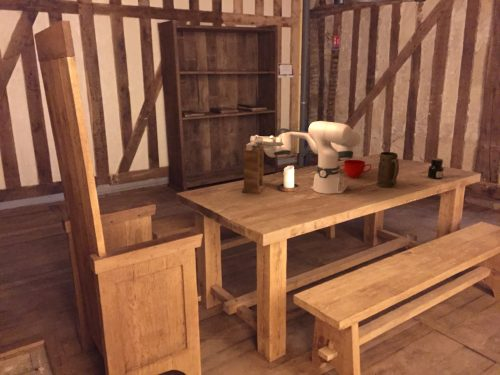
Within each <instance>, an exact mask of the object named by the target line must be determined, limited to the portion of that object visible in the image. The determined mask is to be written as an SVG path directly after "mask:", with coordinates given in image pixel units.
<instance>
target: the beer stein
mask: <svg viewBox="0 0 500 375" xmlns="http://www.w3.org/2000/svg"><path fill="white" fill-rule="evenodd" d="M377 167H378V168H377V173H376V174H377V176H376V177H377V180H376V181H377V182H376V186H378V187H380V188H386V189H392V188H395V187H396V184H397V178H398V175H399V172H400V171H399V170H400V164H399V159H398V153H396V152H392V151H381V152H380V154H379V161H378V166H377Z"/></svg>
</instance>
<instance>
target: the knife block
mask: <svg viewBox="0 0 500 375" xmlns="http://www.w3.org/2000/svg"><path fill="white" fill-rule="evenodd" d="M247 144H248V143H247ZM247 144H245V147H244V148H243V189H242V190H241V193H243V194H253V195H255V194H256V195H260V194H261V193H262V191H263V190H265V187H266V186H265V185H264V164H265V163H264V162H265V160H264V155H265V151H264V145H262V142H259V146H258V145H255V146H254V149H253V150H252V151H251V150H246V145H247Z"/></svg>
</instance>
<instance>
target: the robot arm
mask: <svg viewBox="0 0 500 375" xmlns="http://www.w3.org/2000/svg"><path fill="white" fill-rule="evenodd" d="M307 130H308V131H306V130H305V131H304V130H298V129H297V130H296V129H289V128H285V127H284V128H282V127H281V128H279V129H278V130H277V131H276V132H275V136H274V135H270V136H260V135H259V134H255V135H251V136H250V137H249V143H250V142H251V141H253V140H255V139H256V138H258V137H263V143H262V145H264V154H266V155H267V156H268V157H270V158H286V157H288V156H290V155H291V154H292V139H293V138H295V139H303V140H305V141H307V144H308V146H309V148H310V150H311V151H312V152H313V153H314V154H316V155H317V166H316V173H315V174H314V179H313V185H311V187H310V188H311V189H313V190H314V192H316V193H319V194H328V195H329V194H342V193H344V191H345V190H346V189H347V188H348V186H347V184H344V177H343V175H341V174H340V169H341V165H339V160H341V161H345V160H352V158H353V156H354V148H355V147H357V146H358V145H359V144H361V143H360V142H361V139H362V138H361V135H360V134H359V132H357V131H356V130H354V129H353V127H352V126H351V125H350V124H345V123H342V122H332V121H324V120H319V121H318V120H317V121H313V122H311V123H310V125H309V127H308V129H307Z"/></svg>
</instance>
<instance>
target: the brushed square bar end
mask: <svg viewBox="0 0 500 375" xmlns="http://www.w3.org/2000/svg"><path fill="white" fill-rule="evenodd" d="M263 137H264V136H263ZM263 137H258V138H256V139H255V140H253V141H251V142H250V141H249V143H247V145H246V144H245V146H246V150H251V151H252V150H253V149H254V146H255V145H258V146H259V142H262V143H263Z"/></svg>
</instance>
